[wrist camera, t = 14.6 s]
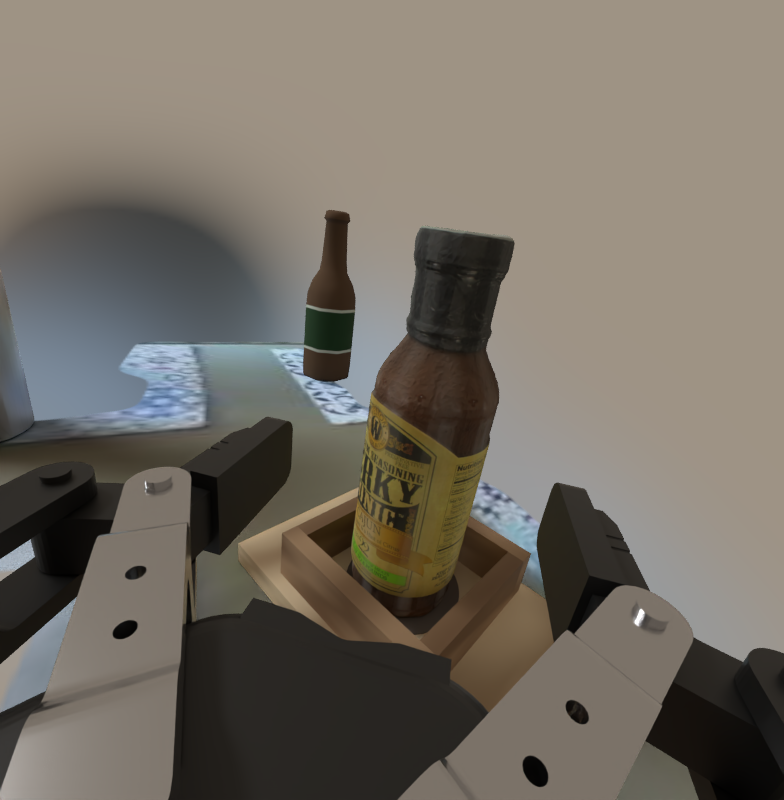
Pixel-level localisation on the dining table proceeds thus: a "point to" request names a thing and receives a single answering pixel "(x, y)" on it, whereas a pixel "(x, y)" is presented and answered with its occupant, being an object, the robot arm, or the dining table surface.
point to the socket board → (434, 632)
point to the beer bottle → (330, 307)
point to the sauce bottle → (430, 424)
